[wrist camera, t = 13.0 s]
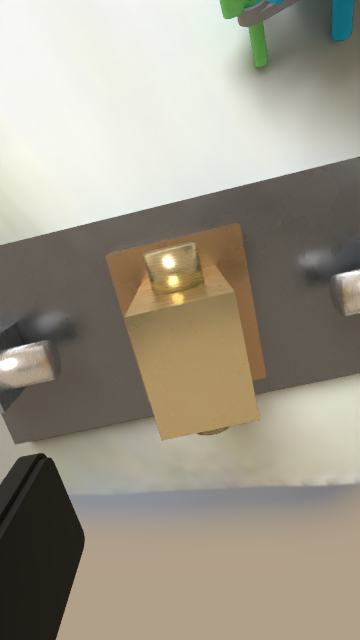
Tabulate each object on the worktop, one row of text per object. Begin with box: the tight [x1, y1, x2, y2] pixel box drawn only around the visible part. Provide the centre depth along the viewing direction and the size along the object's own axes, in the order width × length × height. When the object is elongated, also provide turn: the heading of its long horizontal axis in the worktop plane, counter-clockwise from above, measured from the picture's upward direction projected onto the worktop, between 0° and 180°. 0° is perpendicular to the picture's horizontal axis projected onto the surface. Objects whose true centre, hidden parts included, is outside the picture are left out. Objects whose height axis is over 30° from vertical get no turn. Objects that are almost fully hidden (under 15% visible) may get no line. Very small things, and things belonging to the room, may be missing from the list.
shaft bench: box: [0, 157, 360, 444], centre depth 21 cm, size 30×14×6 cm, turn 103°
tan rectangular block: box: [124, 242, 260, 440], centre depth 18 cm, size 4×10×7 cm, turn 13°
